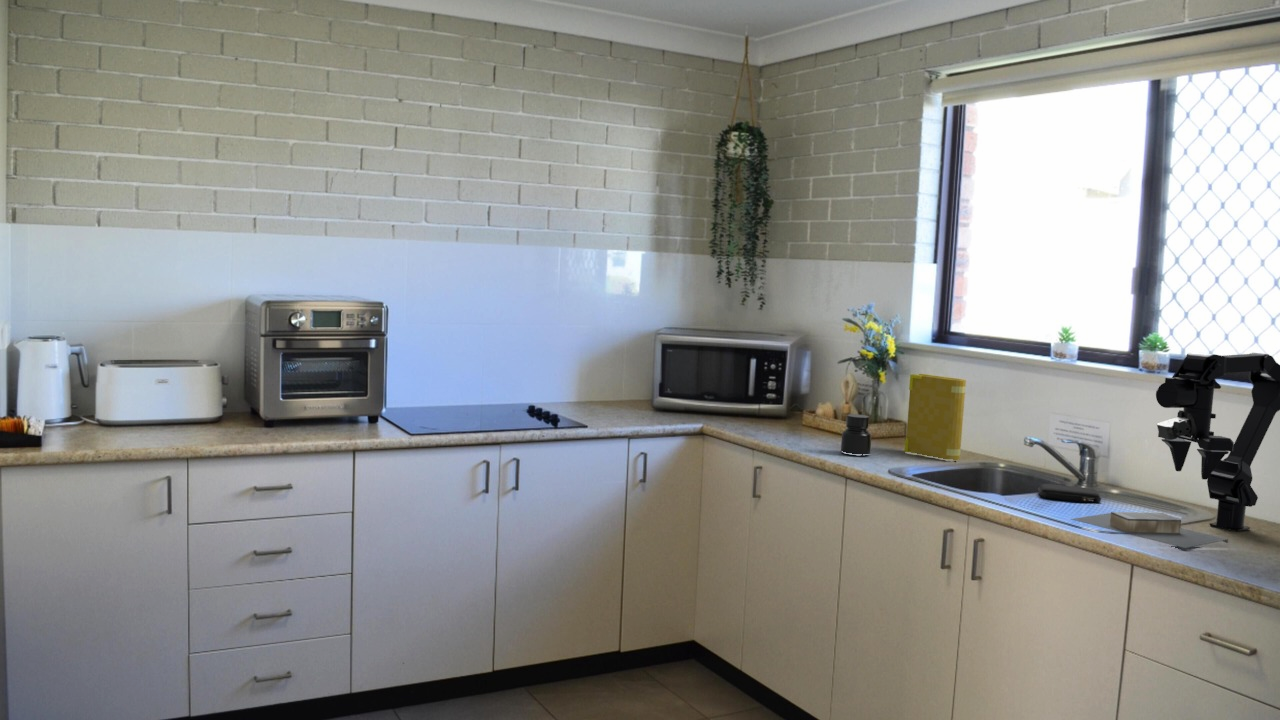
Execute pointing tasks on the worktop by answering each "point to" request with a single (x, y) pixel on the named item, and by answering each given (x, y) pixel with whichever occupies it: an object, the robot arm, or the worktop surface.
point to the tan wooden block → (1145, 522)
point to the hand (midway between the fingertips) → (1191, 475)
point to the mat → (1180, 540)
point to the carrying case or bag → (1069, 493)
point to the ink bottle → (856, 435)
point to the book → (935, 416)
